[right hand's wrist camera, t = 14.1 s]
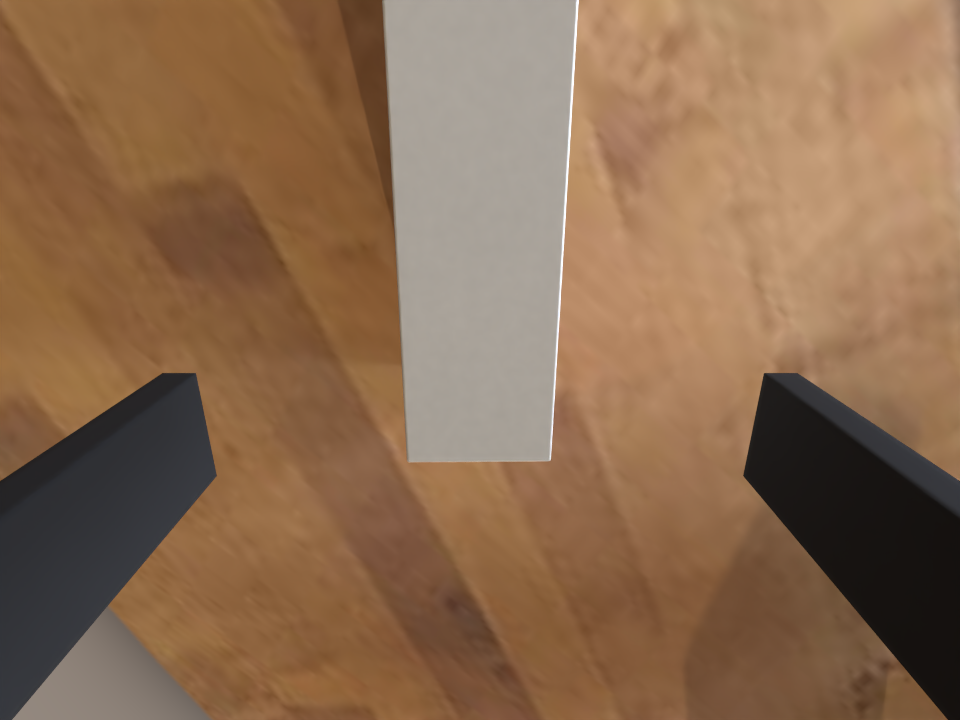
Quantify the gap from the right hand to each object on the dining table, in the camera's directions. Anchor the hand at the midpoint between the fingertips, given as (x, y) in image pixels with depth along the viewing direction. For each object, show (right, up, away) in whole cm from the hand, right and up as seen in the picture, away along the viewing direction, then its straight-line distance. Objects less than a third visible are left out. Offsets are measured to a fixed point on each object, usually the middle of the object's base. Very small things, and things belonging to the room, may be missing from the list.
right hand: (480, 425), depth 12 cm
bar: (0, +26, +4) cm, 26 cm away
